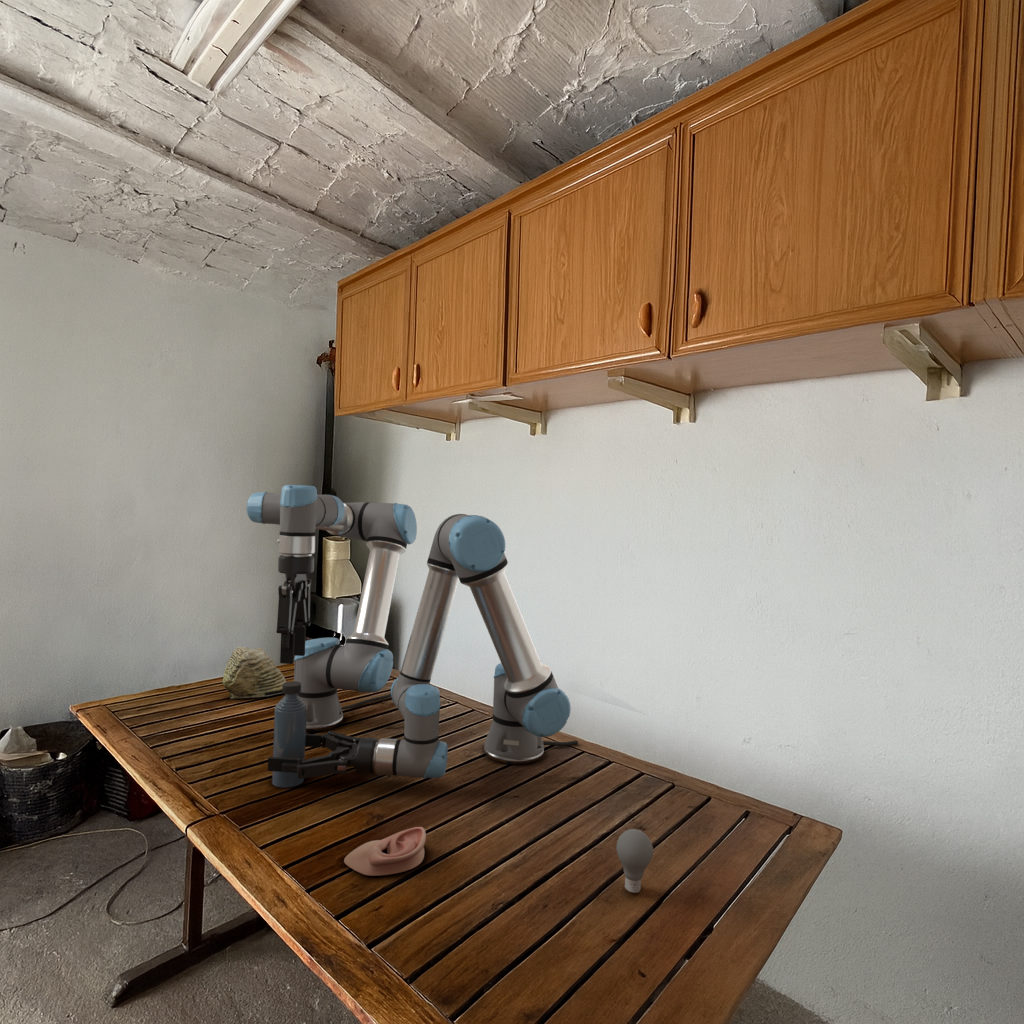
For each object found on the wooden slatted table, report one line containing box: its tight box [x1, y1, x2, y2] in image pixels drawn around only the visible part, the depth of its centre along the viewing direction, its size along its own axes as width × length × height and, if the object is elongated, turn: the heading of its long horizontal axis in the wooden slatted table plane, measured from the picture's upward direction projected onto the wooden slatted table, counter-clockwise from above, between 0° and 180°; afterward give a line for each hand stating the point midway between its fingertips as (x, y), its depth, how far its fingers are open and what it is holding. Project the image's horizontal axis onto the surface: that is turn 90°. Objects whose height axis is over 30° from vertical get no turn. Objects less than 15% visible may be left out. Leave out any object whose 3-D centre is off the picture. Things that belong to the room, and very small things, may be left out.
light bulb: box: [615, 828, 654, 894], centre depth 106 cm, size 6×6×10 cm
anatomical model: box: [343, 826, 427, 877], centre depth 112 cm, size 13×4×12 cm
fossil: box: [222, 646, 287, 699], centre depth 198 cm, size 9×18×15 cm, turn 132°
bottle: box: [271, 693, 307, 789], centre depth 140 cm, size 7×7×21 cm
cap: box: [282, 680, 301, 695], centre depth 140 cm, size 4×4×2 cm
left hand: (292, 658), depth 140 cm, fingers open, 6 cm apart
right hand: (281, 751), depth 140 cm, fingers open, 13 cm apart
